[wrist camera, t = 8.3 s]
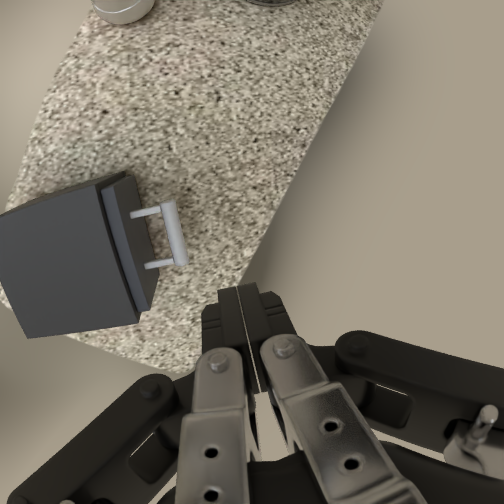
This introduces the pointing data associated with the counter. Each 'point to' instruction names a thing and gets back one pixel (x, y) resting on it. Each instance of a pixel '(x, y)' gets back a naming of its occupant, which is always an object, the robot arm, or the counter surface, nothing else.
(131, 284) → the cabinet drawer
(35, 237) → the grey handled drawer box
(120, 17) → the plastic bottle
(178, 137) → the counter surface
